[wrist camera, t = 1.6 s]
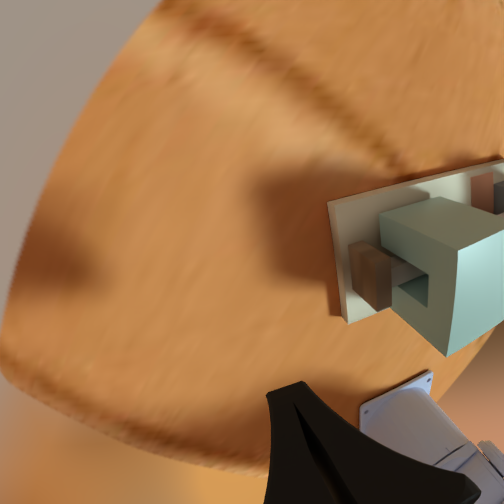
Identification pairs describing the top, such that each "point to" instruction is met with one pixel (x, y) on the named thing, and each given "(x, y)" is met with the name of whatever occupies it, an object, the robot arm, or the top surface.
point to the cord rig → (369, 239)
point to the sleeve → (447, 269)
